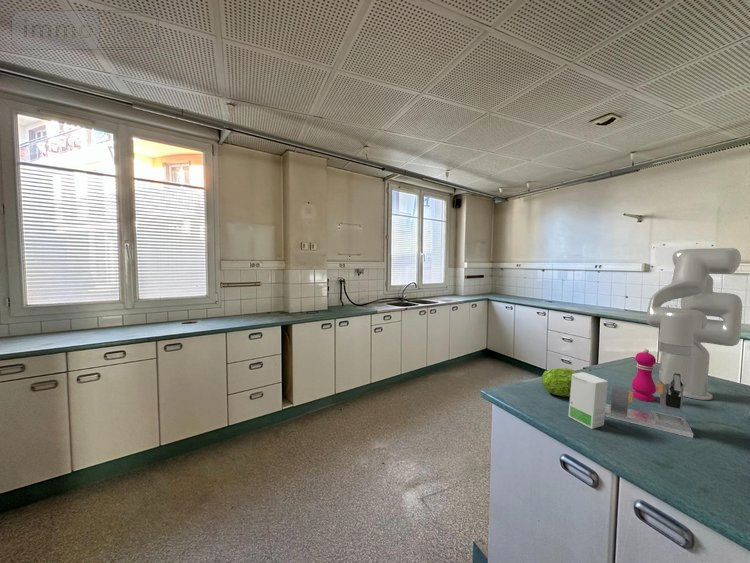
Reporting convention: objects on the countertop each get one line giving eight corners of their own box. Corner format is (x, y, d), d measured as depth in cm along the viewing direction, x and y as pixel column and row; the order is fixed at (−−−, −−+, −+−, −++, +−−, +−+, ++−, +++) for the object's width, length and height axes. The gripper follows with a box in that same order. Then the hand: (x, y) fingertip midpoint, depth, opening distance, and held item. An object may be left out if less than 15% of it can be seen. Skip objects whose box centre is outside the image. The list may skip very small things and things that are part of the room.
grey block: (678, 407, 96) (680, 383, 95) (681, 412, 92) (683, 387, 92) (655, 402, 99) (656, 379, 98) (657, 407, 95) (659, 383, 95)
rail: (601, 406, 109) (603, 382, 109) (686, 426, 96) (688, 398, 96) (602, 415, 103) (603, 389, 102) (692, 437, 90) (695, 408, 89)
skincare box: (567, 417, 102) (569, 373, 101) (580, 413, 104) (582, 371, 103) (593, 429, 94) (595, 383, 93) (606, 425, 96) (608, 379, 95)
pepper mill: (660, 403, 112) (663, 352, 111) (638, 401, 114) (641, 351, 112) (647, 394, 119) (650, 346, 118) (626, 393, 121) (629, 345, 119)
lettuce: (602, 379, 122) (575, 355, 130) (577, 390, 108) (549, 362, 117) (581, 395, 128) (557, 371, 137) (555, 408, 115) (530, 380, 123)
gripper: (654, 341, 103) (650, 392, 104) (664, 353, 89) (660, 410, 90) (684, 345, 98) (680, 398, 100) (699, 357, 85) (695, 418, 86)
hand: (671, 403), depth 95 cm, fingers closed on grey block, 4 cm apart
